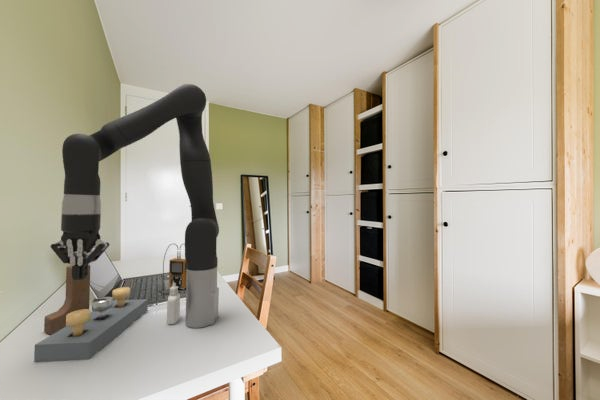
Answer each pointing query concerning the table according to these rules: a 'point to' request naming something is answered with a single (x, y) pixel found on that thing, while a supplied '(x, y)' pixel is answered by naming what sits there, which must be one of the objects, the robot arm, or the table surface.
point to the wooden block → (69, 302)
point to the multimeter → (177, 271)
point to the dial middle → (102, 306)
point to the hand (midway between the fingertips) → (79, 279)
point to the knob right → (121, 295)
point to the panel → (90, 334)
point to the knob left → (78, 320)
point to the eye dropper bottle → (173, 305)
